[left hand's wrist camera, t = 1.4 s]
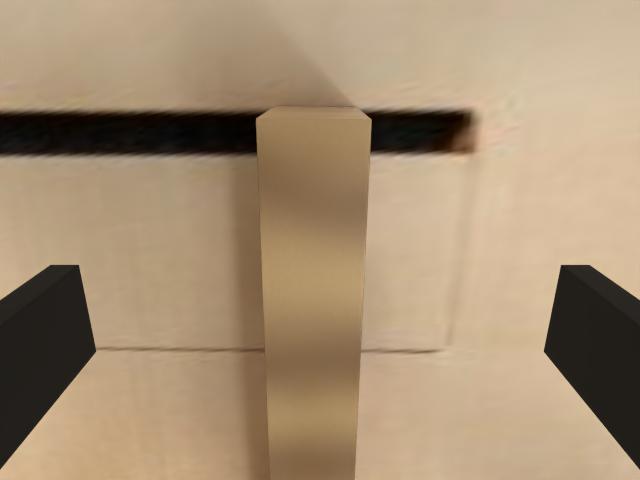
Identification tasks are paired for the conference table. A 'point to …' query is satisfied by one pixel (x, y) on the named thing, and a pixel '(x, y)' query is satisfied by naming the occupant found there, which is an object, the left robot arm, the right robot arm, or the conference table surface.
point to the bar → (313, 284)
